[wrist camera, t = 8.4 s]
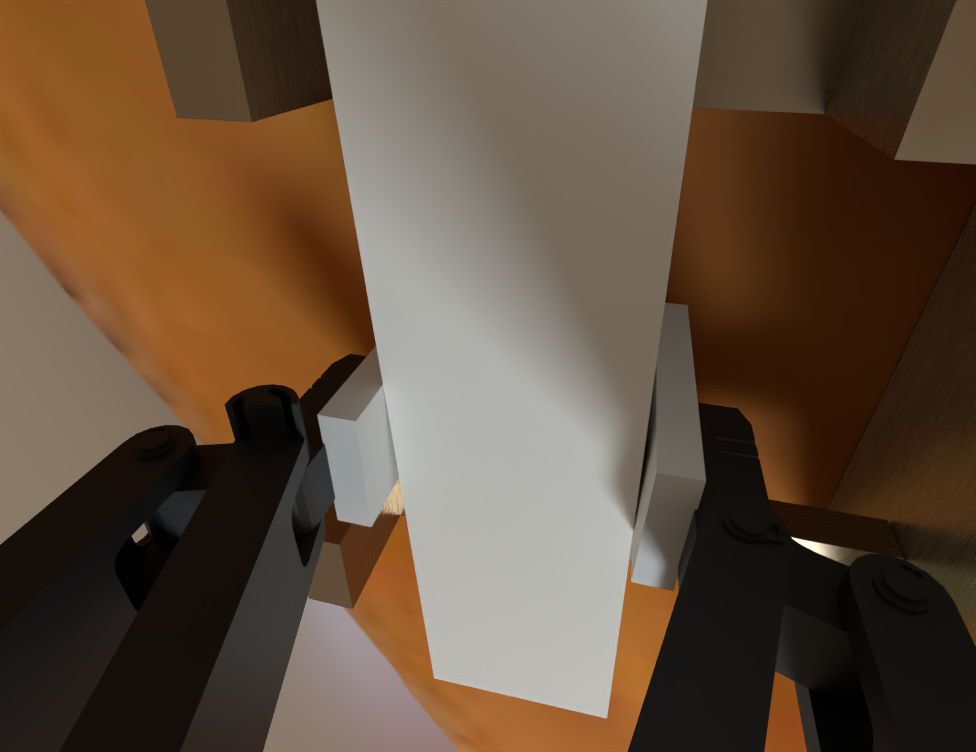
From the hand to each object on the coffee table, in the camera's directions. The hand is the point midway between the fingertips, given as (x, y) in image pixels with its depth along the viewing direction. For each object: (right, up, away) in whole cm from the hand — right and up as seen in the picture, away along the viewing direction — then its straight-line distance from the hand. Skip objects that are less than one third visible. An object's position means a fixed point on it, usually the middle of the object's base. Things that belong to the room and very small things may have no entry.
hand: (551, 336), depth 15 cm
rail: (0, 0, 0) cm, 0 cm away
